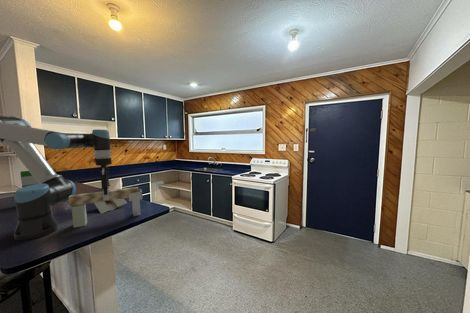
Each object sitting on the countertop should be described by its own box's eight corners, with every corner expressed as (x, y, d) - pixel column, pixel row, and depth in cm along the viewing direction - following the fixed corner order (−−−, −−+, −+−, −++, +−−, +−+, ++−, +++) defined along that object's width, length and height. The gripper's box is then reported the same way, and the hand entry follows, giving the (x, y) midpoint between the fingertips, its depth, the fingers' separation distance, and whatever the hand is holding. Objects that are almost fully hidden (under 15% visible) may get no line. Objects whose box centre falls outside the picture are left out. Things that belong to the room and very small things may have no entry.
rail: (69, 206, 99) (68, 197, 99) (71, 204, 102) (70, 195, 102) (138, 196, 115) (138, 188, 114) (138, 194, 118) (137, 186, 117)
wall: (126, 209, 136) (117, 193, 141) (128, 202, 131) (118, 186, 136) (100, 220, 124) (90, 203, 129) (101, 213, 119) (90, 195, 124)
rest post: (73, 227, 100) (71, 207, 99) (75, 224, 105) (73, 204, 104) (85, 225, 103) (83, 205, 102) (87, 222, 107) (85, 202, 106)
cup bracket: (130, 217, 112) (128, 193, 110) (130, 213, 118) (128, 190, 117) (143, 215, 115) (142, 191, 114) (142, 211, 122) (141, 188, 120)
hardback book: (24, 206, 133) (20, 172, 131) (24, 204, 138) (20, 171, 136) (59, 200, 146) (55, 169, 144) (57, 198, 151) (54, 168, 149)
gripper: (110, 158, 101) (113, 202, 103) (112, 156, 115) (115, 194, 118) (92, 159, 97) (96, 204, 100) (97, 157, 112) (100, 196, 114)
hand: (106, 199), depth 109 cm, fingers closed on rail, 3 cm apart
